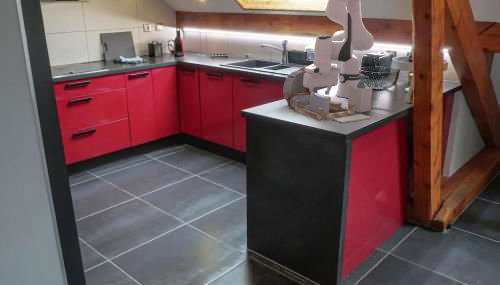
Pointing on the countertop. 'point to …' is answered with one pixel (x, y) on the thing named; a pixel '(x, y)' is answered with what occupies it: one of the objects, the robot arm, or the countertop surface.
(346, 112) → the rack
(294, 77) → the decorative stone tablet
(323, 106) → the lavender grey box
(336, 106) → the offcut upper
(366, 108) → the soap bottle
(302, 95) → the tin
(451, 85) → the countertop surface
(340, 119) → the mat
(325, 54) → the robot arm
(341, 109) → the offcut lower
